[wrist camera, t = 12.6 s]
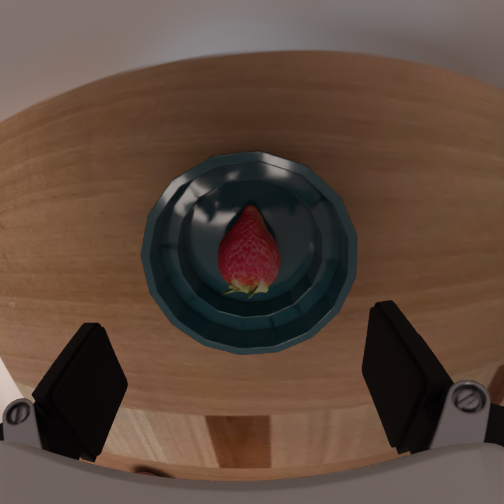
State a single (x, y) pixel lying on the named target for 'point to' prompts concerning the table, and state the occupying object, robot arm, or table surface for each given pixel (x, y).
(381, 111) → the table surface
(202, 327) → the bowl
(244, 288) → the fruit
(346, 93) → the table surface
